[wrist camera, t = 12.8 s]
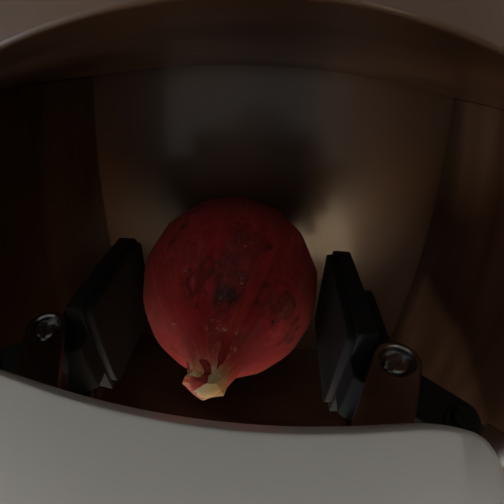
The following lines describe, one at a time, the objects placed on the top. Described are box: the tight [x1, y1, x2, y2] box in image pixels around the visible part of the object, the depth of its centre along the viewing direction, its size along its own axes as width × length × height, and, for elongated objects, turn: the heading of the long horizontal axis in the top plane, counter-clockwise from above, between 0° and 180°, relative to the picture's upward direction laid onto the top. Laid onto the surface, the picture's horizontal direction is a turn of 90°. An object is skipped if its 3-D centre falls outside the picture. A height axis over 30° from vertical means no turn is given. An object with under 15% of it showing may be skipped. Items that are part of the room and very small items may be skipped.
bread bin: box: [0, 0, 504, 432], centre depth 10 cm, size 17×16×11 cm
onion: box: [143, 196, 317, 401], centre depth 11 cm, size 6×6×8 cm
